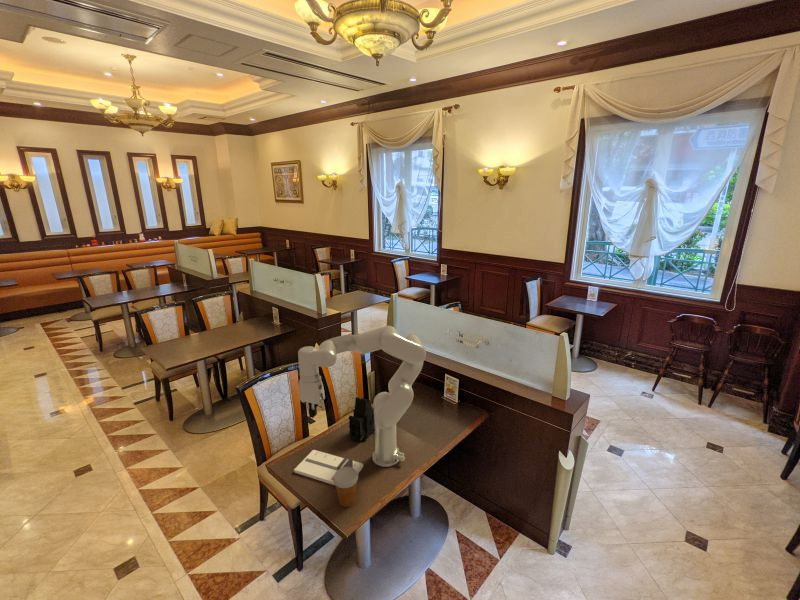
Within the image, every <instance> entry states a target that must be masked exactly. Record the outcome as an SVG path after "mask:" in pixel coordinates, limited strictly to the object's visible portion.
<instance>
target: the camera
mask: <svg viewBox="0 0 800 600" xmlns="http://www.w3.org/2000/svg"><path fill="white" fill-rule="evenodd" d="M352 411H353V413H352V415H349V416H348V420H349V421H348V428H349V431H348V432H349V434H348V435H349V437H348V438H350V439H352V440H355V441H358V442H361V441H363V440H365V439H369V436H370V435H371V434H372V433H375V421H374V408H373V406H372V402H371V399H367V398H363V397H361V398H360V397H357V396H356V397H355V400H354V408H353V409H352Z"/></svg>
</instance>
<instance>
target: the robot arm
mask: <svg viewBox="0 0 800 600" xmlns="http://www.w3.org/2000/svg"><path fill="white" fill-rule="evenodd" d="M379 350H382V351H383V352H384V353H386V354H388V355H390V356H392V357H393V358H396V359H398V360H401V361H402V362H401V364H400V366H399V367H398V369H397V370H396V372H395V373H394V374H393V376H392V377H391V378H390V380H389V381H388V384H387V385H388V388H387V389H388V392H387V391H382V392H379V393H378V394H376V395H375V397H374V399H373V403H372V405H373V406H372V408H373V409H374V429H375V431H374V445H375V450H374V451H373V452H372V454H371V455H372V461H373V463H374V464H375V465H377V466H380V467H382V468H385V467H386V468H387V467H388V468H389V467H393V466H395V465H397V464H398V462H400V461H402V462H405V460H406V457H405V453H404V452H401V451H400V448H399V447H398V446H397V443H398V442H397V423H398V422H399V421H400V419H401V418H402V417H403V416H404V414H405V413H406V412H407V410H408V409H409V407H410V406H411V404H412V402H413V399H414V390H413V388H412V385H413V384H414V382H415V381H416V379H417V377H418V376H419V374H420V373H421V371H422V369H423V366H424V363H425V359H426V358H427V350H426V348H425V346H424V344H423V342H422V341H421V339H420V337H418V336H417V335H416V334H413V333H411V334H410V333H409V334H408V335H406V336H404V337H402V336H401V335H400V334H399V332H398V330H397V329H396V327H394V326H392V325H384V326H382V327H377V328H375V329H371V330H368V331H365V332H362V333H359V334H346V335H339V336H336V337H331V338H329V339H326V340H324V341H323V342H321V343H320V345H319V347H318V350H317V348H316V347H315V346H311V345H309V346H307V345H306V346H302V347H300V348H299V349H298V351H297V356H298V357H297V358H298V366H299V382H298V397H299V400H300V402H301V403H303V404H305V406H306V409H308V415H309V418H312V419H313V418H315V417H316V416H317V415H318V409H317V407H322V406H324V405H325V404H324V400H325V399H326V395H325V389H324V384H323V381H322V375H320V371H319V369H320V368H330V367H333V366H335V364H336V362H337V356H338V354H341V353H346V352H355V353H358V354H359V355H367V354H370V353H372V352H373V353H374V352H375V351H376V352H377V351H379ZM319 367H320V368H319Z"/></svg>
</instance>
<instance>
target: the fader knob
mask: <svg viewBox="0 0 800 600" xmlns="http://www.w3.org/2000/svg"><path fill="white" fill-rule="evenodd" d="M343 458H344V459H343V460H342V462H341V463H340V464H339V465H338V466H337V470H339V469H340V468H343V467H352V468H353V461H354V460H353V459H349V458H346V457H343Z"/></svg>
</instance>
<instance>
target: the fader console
mask: <svg viewBox="0 0 800 600" xmlns="http://www.w3.org/2000/svg"><path fill="white" fill-rule="evenodd" d="M344 458H345V457H340V456H338V455H334V454H330V453H327V452H323V451H320V450H316V449H312V450H311V451H310V453H308V455H306V457H305V458H304V459H302V461H301V462H300V463H299V464H298V465H297V466H296V467H295V468H294V469H293V472H294V473H295V474H299V475H301V476H305V477H307V478H310V479H314V480H316V481H317V480H318V481H321V482H323V483H326V484H329V485H332V486H335V483H334V481H333V477H334V475H335V473H336V471H337V466H338V465H339V464H340V463H341V462H342V460H343V459H344ZM353 468H354V469H355V470H356V472H357V473H358V474H360V472H361V471H362V469H363V468H364V463H362V462H359V461H355V460H353Z"/></svg>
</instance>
